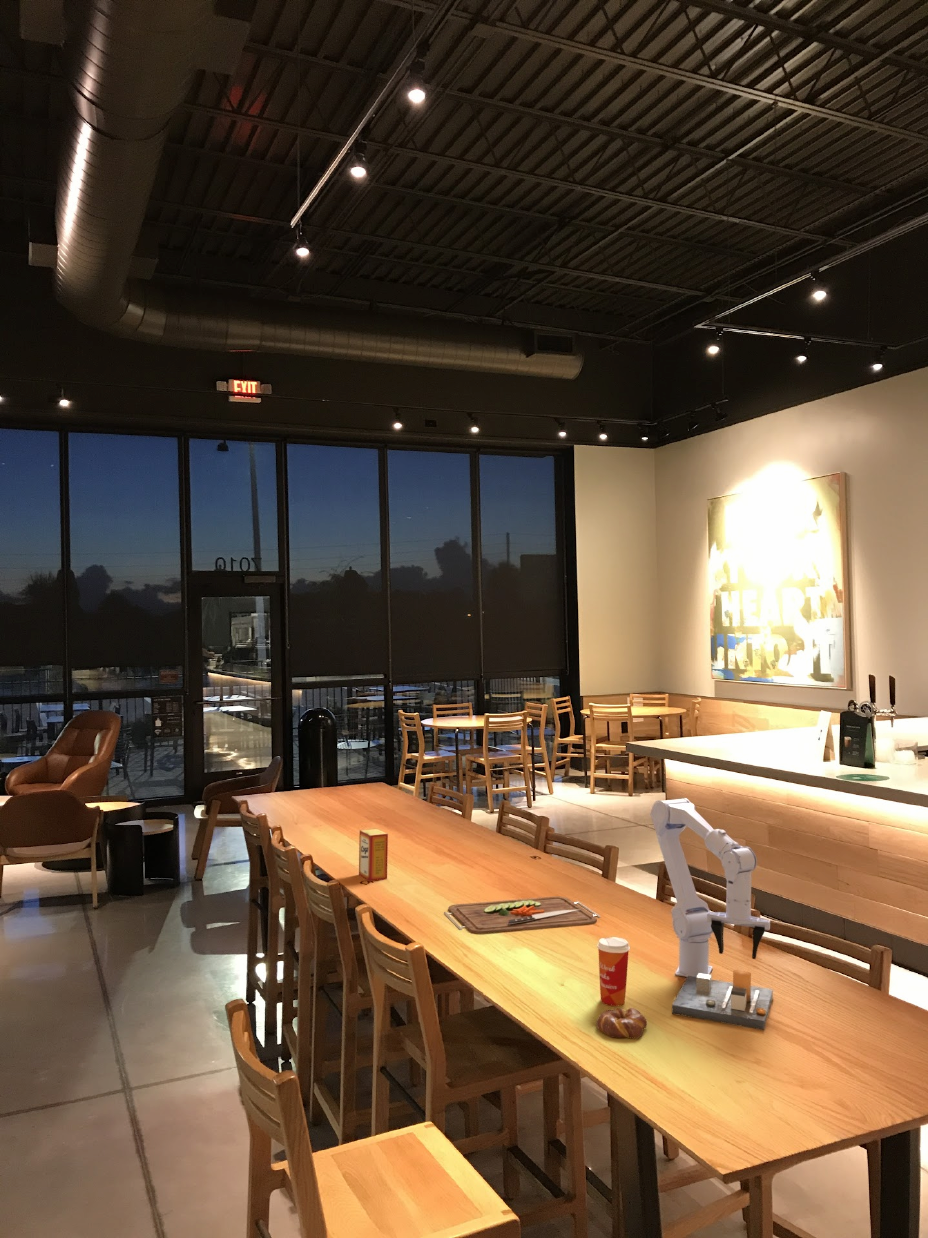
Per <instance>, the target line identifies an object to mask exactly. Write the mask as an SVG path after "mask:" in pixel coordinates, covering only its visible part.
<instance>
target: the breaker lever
mask: <svg viewBox="0 0 928 1238" xmlns="http://www.w3.org/2000/svg"><path fill="white" fill-rule="evenodd" d="M745 1008H746V988H741V987H735V986H733V987H732V990H731V1009H736V1010H742V1011H745Z"/></svg>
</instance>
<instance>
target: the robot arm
mask: <svg viewBox="0 0 928 1238" xmlns="http://www.w3.org/2000/svg"><path fill="white" fill-rule="evenodd" d="M649 814H650V819H651V821H652V824H653V827H654V830H655V831H654V832H655V835H656V838H657V842H658V844H659V848H660V851H661V854H662V857H663V861H664V864H665V867H666V871H667V874H668V877H669V880H670V883H671V887H672V891H673V893H674V897H675V899H676V903H675V904H674V906H673V907H672V908H671V911H670V913H671V918H672V929H673V931H674V933H675V935H676V937H677V938H678V939H679V942H678V944H679V945H678V947H679V948H678V951H679V952H678V956H679V957H678V967H677V968H676V971H675V972H674V975H675V976H679V977H686V978H687V976H693V977H697V975H698V973H701V974H708V975H711V972H712V970H713V966H712V965H710V964H709V963H710V961H709V959H710V943H709V939H711V937H712V936H711V935H712V934H713V935H714V937H715V941H716V943H717V947H718V953H719V954H720V955H721V954H722V955H723V954H724V946H725V945H724V929H725V927H724V926H725V924H729V925H735V926H742V927H749V928H753V929H752V950H751V951H752V952H751V953H752V954H751V958H752V959H753V960H756V958H757V954H758V949H759V945H760V942H761V940H762V938H763V936H764V934H765V931H770V929H771V919H766V918H761V917H759V916H758V917H757V916H753V915H752V911H751V910H752V872H753V871H754V870H755V869H756V868H757V865H758V859H757V855H756V853H755V851H753V850H752V848H751V847H750V846H743V845H740V844H739V842H738V841H735V840H734V839H732V838H731V837H730V836H729V835H728V834H727V831H726V830H724V829H721V828H716V829H714V828H713V827H712V826H711V824H710V823H708V821H707V820H705V819H704V817H703V816H701V815H700V813H699V812H697V811H696V805H695V804H694V803H692V802H691V801H690V800H689V799H688V798H686V797H682V798H675V799H667V800H666V799H665V800H656V801H655V802H654V803H653V805H652V807H651V809H650V812H649ZM686 828H689V829H691V830H692V831H693V832H694V833H695V834H697V835H698V837H701V838H702V839H703V840H704V846H705V847H706V848H707V849H708V850H709V851H710V852H711V853H713V855H714V856H715V857H717V858H718V859H719V860H720V861H721V866H722V868H723V870H724V878H725V880H726V890H725V891H726V892H725V893H726V901H725V902H726V903H725V912H721V911H717V912H716V911H715V912H714V911H711V909H710V908H709V906H708V903H707V902H706V901H705V900H703V899H701V898H700V897H698V893H697V892H696V888H695V885H694V882H693V879H692V874H691V872H690V870H689V866H688V863H687V860H686V856H685V854H684V851H683V848H682V844H681V841H680V840H681V839H680V835H681V833H682V832H684V830H685V829H686Z"/></svg>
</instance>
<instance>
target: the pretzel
mask: <svg viewBox="0 0 928 1238" xmlns="http://www.w3.org/2000/svg"><path fill="white" fill-rule="evenodd" d="M596 1026H597V1028H598V1030H600V1032H602V1033H603V1034H605V1035H607V1036H608V1037H611V1038H614V1039H625V1038H628V1039H638V1038H640V1037H641V1036H642V1035H643V1032H644V1030H645V1029H647V1026H648V1021H647V1018H646V1017H645V1016H643V1014H642V1013H641V1011H640V1010H639V1009H636V1008H634V1007H633V1008H632V1007H631V1008H630V1007H629V1008H628V1009H626V1010H625V1009H624V1008H620V1007H619V1008H618V1007H616V1008H614V1009H605V1010H603V1011H602V1012H600V1014H599V1015H598V1017H597V1020H596Z"/></svg>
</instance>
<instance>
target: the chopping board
mask: <svg viewBox="0 0 928 1238" xmlns="http://www.w3.org/2000/svg"><path fill="white" fill-rule="evenodd" d="M443 914H444V915H445V916H446V917H447V918H448V919H449V920H450V921H451V922H452V923H453V924H454V925H455V926H456V928H457V929H458V930H459V931H460V930H461V931H462V930H463V929H466V930H467V931H468V932H470V933H472V934H477V935H485V934H495V933H496V934H498V933H508V932H522V931H529V930H541V929H552V928H565V927H574V926H575V927H576V926H587V925H595V924H596V923H598V918H599V919H600V918H601V915H600V914H598V913H597V912H595V911H593V909H590V908H589V907H588V906H586V905H584V904H583V903H581V902H580V901H579V900H576V901H575V902H573V900H571V899H569V898H567V897H564V896H546V897H544V896H543V897H532V898H531V897H530V898H522V899H520V898H518V899H508V900H496V901H495V900H494V901H482V902H472V903H471V902H469V903H460V904H459V903H457V904H451V905H450V906H448V912H446V911H444V912H443ZM451 915H452V916H454V918H456V919H457V921H459V923H460V924H461V925H462V926H461V925H460V924H458V923H457V921H455V919H453V918H452V916H451Z"/></svg>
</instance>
